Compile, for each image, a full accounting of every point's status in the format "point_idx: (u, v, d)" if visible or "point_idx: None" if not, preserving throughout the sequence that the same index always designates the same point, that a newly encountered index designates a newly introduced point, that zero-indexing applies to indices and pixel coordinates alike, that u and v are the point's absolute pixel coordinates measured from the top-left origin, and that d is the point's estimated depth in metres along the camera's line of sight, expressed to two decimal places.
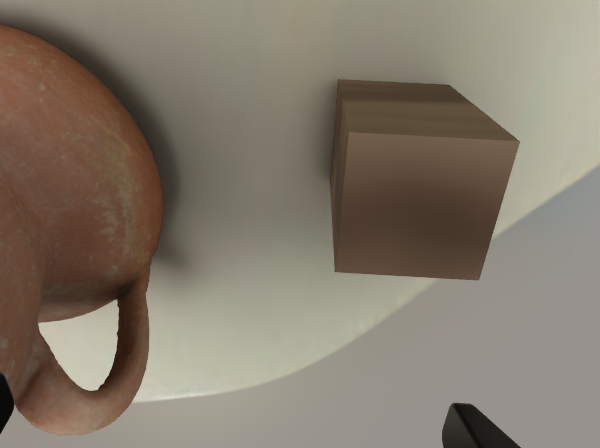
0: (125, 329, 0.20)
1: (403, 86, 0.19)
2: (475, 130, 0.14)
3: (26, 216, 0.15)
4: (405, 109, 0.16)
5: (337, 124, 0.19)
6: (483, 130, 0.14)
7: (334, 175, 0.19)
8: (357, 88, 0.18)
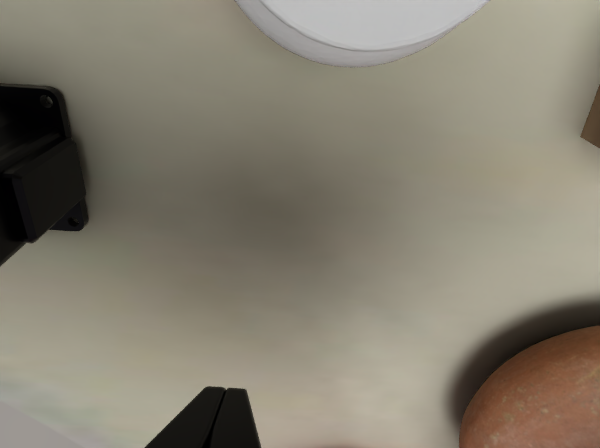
0: None
1: None
2: None
3: None
4: None
5: None
6: None
7: None
8: None
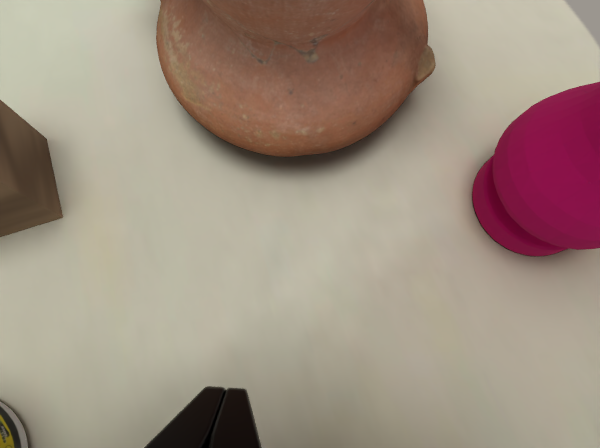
0: None
1: (1, 229, 0.23)
2: None
3: (211, 9, 0.19)
4: None
5: (36, 179, 0.22)
6: None
7: (17, 137, 0.22)
8: (31, 211, 0.22)
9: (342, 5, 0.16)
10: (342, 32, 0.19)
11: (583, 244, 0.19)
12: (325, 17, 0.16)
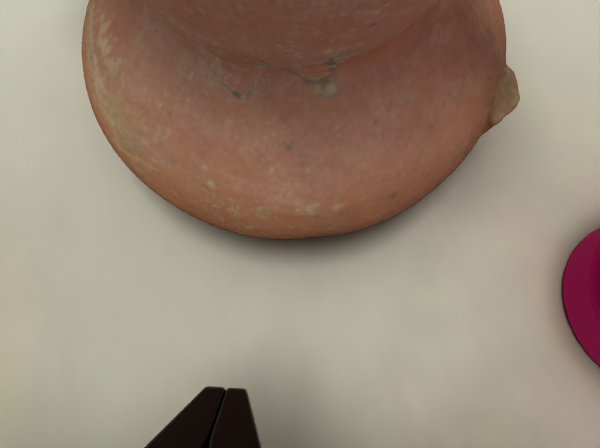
0: None
1: None
2: None
3: None
4: None
5: None
6: None
7: None
8: None
9: None
10: (381, 47, 0.11)
11: None
12: (359, 21, 0.08)
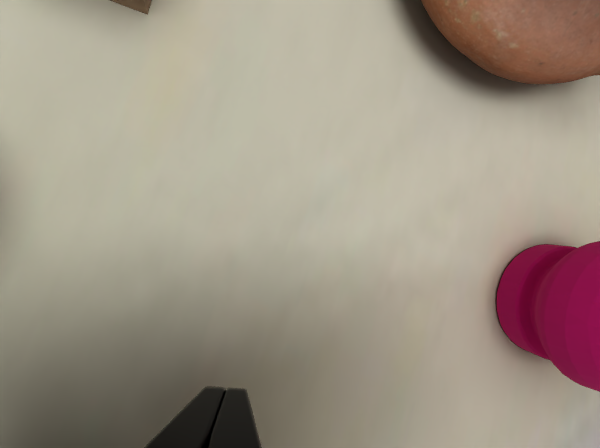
0: None
1: None
2: None
3: None
4: None
5: None
6: None
7: None
8: None
9: None
10: None
11: (574, 376, 0.20)
12: None
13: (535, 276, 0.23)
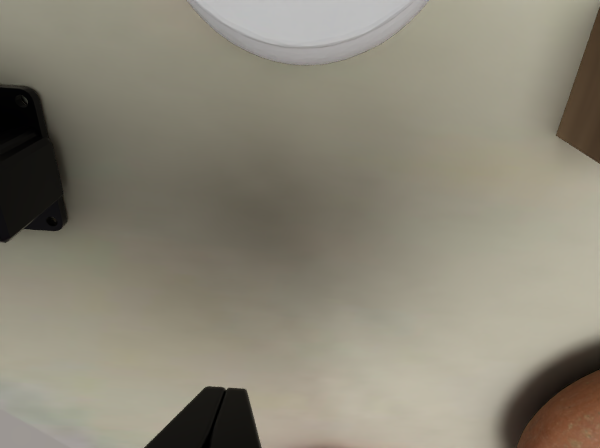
0: None
1: (592, 67, 0.16)
2: None
3: None
4: None
5: None
6: None
7: None
8: (585, 130, 0.16)
9: None
10: None
11: None
12: None
13: None
